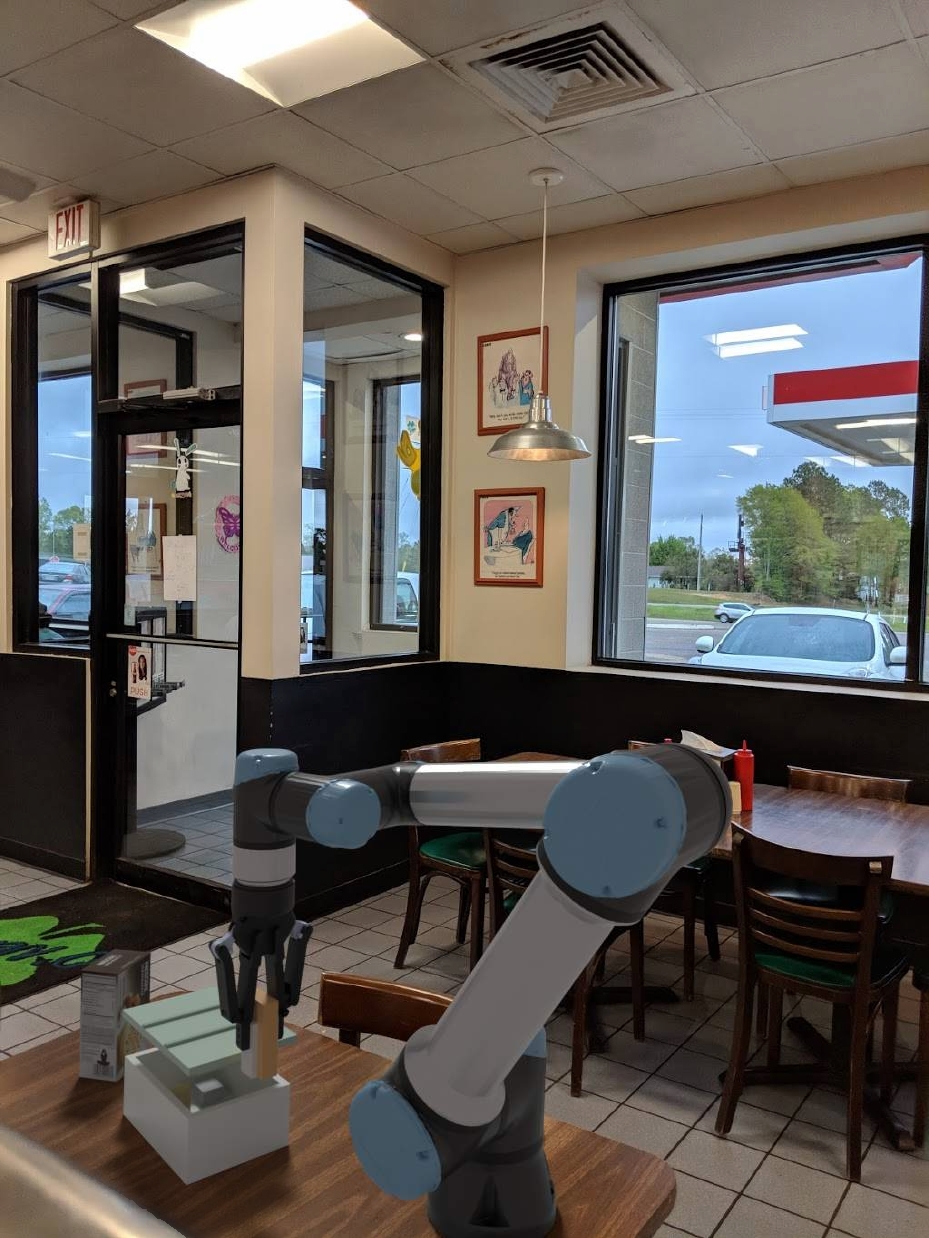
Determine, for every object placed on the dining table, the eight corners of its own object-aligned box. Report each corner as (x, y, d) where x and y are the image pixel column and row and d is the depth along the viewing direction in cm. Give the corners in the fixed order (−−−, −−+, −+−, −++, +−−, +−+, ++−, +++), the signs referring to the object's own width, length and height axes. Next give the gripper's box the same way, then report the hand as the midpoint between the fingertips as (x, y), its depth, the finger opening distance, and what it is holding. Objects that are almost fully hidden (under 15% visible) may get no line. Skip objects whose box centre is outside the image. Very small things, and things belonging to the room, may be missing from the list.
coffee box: (112, 1049, 149) (115, 947, 148) (149, 1054, 147) (152, 951, 147) (77, 1077, 140) (79, 968, 139) (116, 1083, 138) (119, 973, 138)
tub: (288, 1144, 124) (290, 1083, 124) (186, 1184, 115) (188, 1119, 115) (218, 1083, 139) (220, 1028, 139) (123, 1114, 130) (124, 1055, 130)
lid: (321, 1069, 119) (323, 988, 119) (211, 1107, 109) (213, 1019, 109) (223, 998, 140) (224, 929, 139) (122, 1025, 130) (124, 951, 130)
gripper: (301, 861, 124) (297, 1041, 124) (191, 880, 114) (187, 1076, 114) (333, 874, 118) (328, 1063, 118) (220, 896, 108) (215, 1102, 108)
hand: (259, 1069), depth 116 cm, fingers closed on lid, 2 cm apart
